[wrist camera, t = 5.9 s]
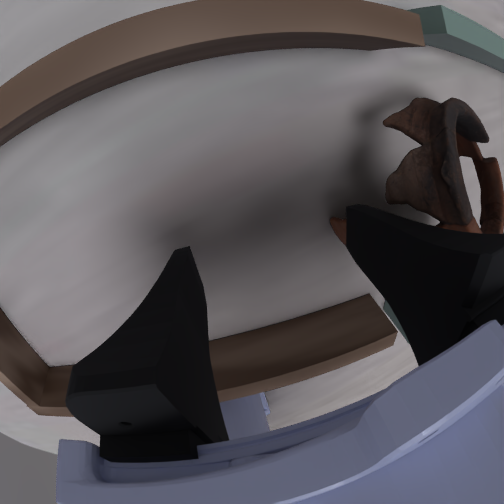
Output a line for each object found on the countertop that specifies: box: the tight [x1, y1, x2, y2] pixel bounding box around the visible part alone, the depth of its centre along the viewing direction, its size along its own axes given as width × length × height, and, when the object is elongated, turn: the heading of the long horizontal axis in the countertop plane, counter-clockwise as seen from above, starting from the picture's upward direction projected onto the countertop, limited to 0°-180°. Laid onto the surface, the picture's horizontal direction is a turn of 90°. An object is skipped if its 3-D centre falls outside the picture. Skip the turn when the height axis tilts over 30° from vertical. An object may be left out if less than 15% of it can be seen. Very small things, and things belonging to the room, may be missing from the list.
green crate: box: [384, 5, 504, 344], centre depth 14 cm, size 21×20×4 cm
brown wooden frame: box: [0, 0, 425, 417], centre depth 12 cm, size 19×28×4 cm
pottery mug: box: [330, 98, 504, 245], centre depth 13 cm, size 12×10×8 cm
